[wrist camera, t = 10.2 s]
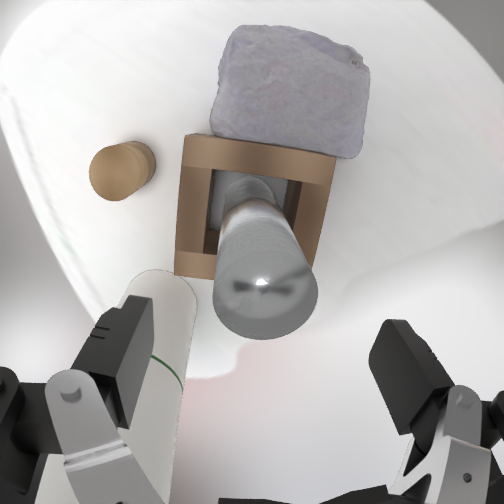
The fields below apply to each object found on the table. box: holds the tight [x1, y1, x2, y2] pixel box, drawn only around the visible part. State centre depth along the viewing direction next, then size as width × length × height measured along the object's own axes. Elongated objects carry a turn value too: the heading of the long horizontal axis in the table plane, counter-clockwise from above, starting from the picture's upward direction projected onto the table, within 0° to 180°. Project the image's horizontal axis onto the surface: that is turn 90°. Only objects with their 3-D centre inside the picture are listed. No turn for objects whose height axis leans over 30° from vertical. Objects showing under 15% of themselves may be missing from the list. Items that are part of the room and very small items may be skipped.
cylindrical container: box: [35, 270, 197, 504], centre depth 17 cm, size 7×7×25 cm
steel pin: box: [213, 177, 318, 340], centre depth 18 cm, size 4×4×15 cm
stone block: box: [210, 25, 370, 159], centre depth 21 cm, size 12×5×10 cm
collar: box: [174, 133, 336, 280], centre depth 23 cm, size 10×10×5 cm
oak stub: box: [89, 141, 156, 201], centre depth 21 cm, size 4×4×4 cm
